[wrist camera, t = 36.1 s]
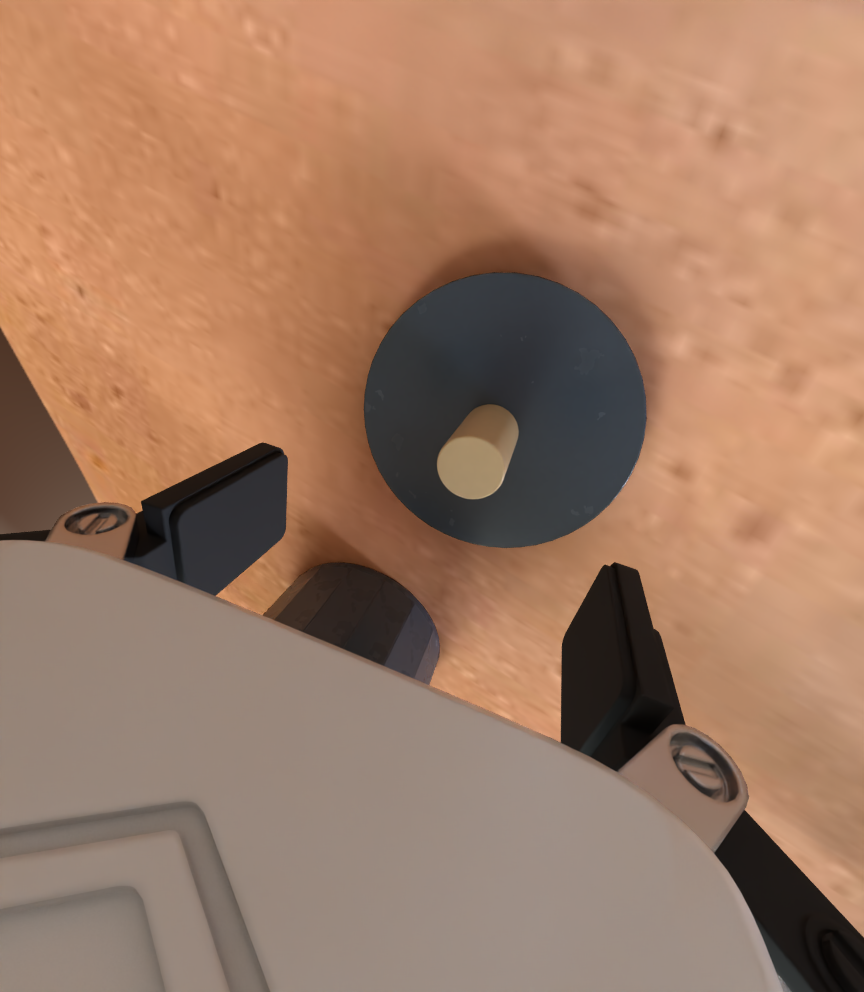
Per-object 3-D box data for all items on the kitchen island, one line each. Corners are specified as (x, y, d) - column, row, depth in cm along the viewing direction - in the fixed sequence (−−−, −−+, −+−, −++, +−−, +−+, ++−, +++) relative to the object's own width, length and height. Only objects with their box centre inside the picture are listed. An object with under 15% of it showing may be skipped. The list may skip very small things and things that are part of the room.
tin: (293, 538, 28) (70, 742, 15) (457, 601, 26) (352, 891, 13) (290, 649, 34) (129, 857, 21) (422, 706, 32) (329, 971, 20)
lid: (393, 241, 17) (324, 225, 13) (704, 316, 15) (765, 330, 10) (360, 492, 24) (308, 544, 19) (574, 567, 22) (575, 647, 17)
